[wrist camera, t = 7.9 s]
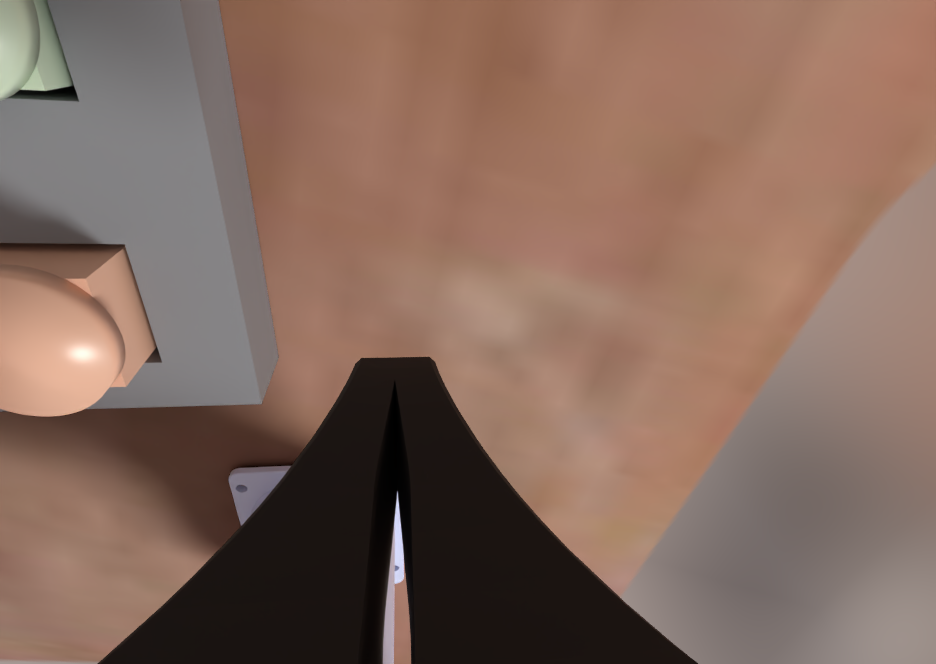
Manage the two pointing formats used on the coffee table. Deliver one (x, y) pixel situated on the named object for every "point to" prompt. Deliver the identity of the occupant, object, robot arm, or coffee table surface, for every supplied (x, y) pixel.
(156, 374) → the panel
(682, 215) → the coffee table surface
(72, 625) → the coffee table surface
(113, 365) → the terracotta button
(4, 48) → the sage button
